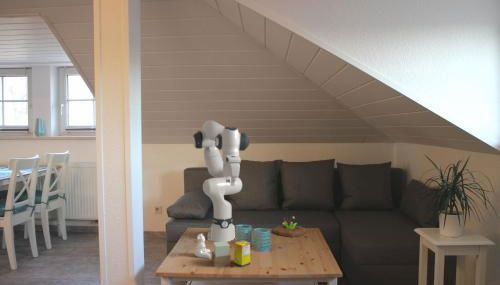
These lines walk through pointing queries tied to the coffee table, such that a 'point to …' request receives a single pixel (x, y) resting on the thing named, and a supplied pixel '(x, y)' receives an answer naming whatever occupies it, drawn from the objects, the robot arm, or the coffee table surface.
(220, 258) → the walnut block
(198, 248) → the white creature statuette
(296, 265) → the coffee table surface
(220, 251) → the sage block
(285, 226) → the plant
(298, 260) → the coffee table surface
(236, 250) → the supplement box
